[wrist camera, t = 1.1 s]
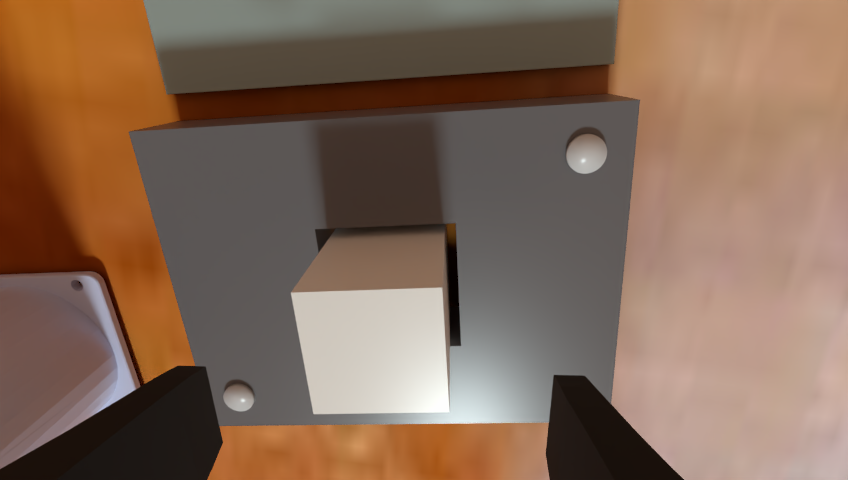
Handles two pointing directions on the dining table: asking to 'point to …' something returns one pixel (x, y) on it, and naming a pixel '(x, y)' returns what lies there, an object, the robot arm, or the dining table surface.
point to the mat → (370, 39)
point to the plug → (377, 321)
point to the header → (394, 206)
